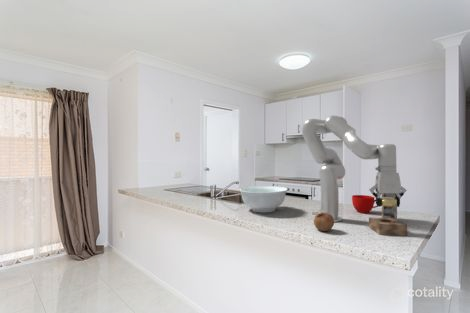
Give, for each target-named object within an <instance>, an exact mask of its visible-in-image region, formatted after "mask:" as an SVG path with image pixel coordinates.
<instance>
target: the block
mask: <svg viewBox="0 0 470 313" xmlns="http://www.w3.org/2000/svg"><path fill="white" fill-rule="evenodd" d="M368 229H370V230H372V231H373V232H375V233H376V234H377V235H381V236H405V237H407V236H408V224H407V223H405V222H402V221H400V220H399V219H398V218H397V219H394V218H382V217H368Z"/></svg>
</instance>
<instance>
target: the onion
mask: <svg viewBox="0 0 470 313" xmlns="http://www.w3.org/2000/svg"><path fill="white" fill-rule="evenodd" d="M313 218H314V219H313V225H314V226H315V229H317V230H318V231H320V232H327V231H330V230H331V229H332V228H333V227H334V225H335V222H334V219H333V217H332V215H330V214H329V213H319V214H318V215H316V216H315V215H314V217H313Z"/></svg>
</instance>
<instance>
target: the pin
mask: <svg viewBox="0 0 470 313" xmlns="http://www.w3.org/2000/svg"><path fill="white" fill-rule="evenodd" d="M380 198H381V207H382V206H383V215H385V216H393V207H397V199H396V198H391V197H382V196H380ZM397 208H398V207H397Z"/></svg>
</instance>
